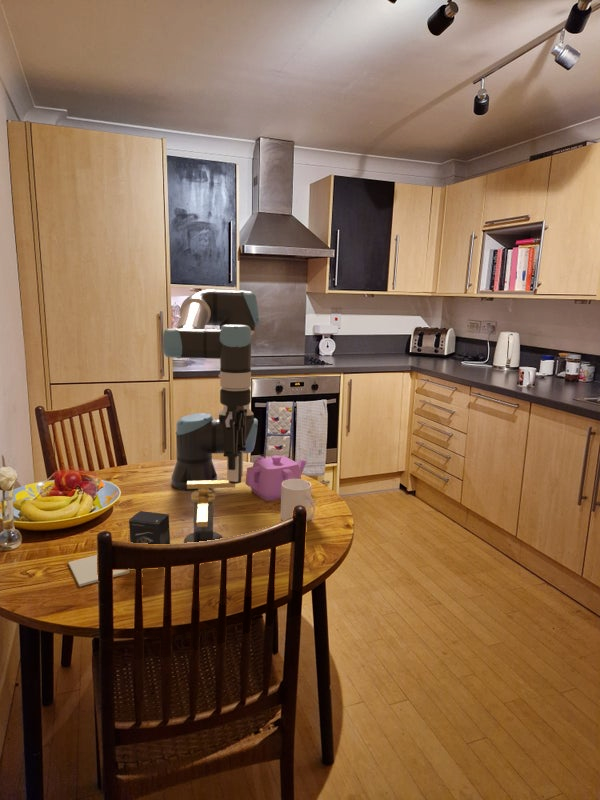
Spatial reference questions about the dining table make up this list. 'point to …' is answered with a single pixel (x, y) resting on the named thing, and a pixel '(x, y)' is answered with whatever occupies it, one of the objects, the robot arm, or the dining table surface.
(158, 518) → the box
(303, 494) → the mug
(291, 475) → the teakettle
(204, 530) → the post
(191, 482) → the crank
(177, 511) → the dining table surface
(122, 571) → the pad
